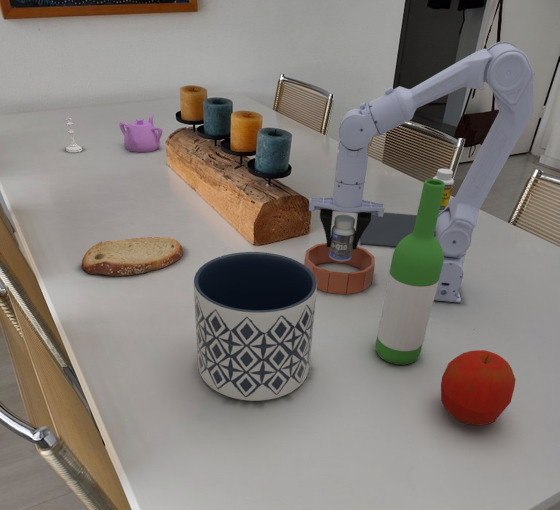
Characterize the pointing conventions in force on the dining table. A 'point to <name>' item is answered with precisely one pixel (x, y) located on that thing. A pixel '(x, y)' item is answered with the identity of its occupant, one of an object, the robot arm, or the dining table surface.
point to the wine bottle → (412, 283)
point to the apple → (477, 387)
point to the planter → (254, 324)
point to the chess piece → (72, 138)
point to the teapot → (141, 135)
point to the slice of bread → (131, 256)
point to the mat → (388, 229)
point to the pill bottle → (342, 238)
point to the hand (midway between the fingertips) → (341, 246)
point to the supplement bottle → (446, 177)
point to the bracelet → (339, 280)
